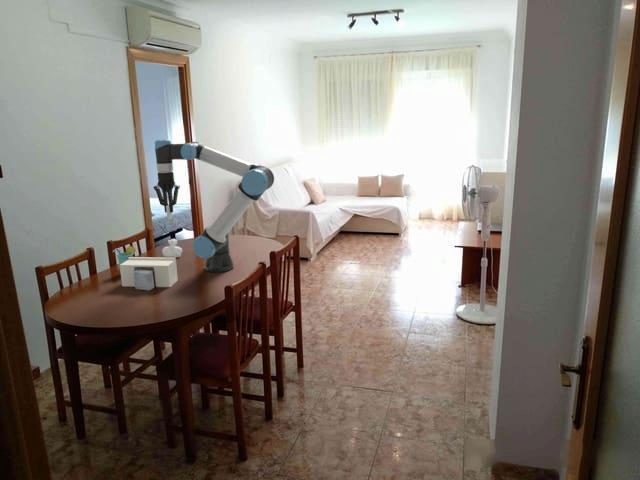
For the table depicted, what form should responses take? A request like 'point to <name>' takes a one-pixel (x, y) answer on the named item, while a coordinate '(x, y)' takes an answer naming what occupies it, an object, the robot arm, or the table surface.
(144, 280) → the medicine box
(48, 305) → the table surface
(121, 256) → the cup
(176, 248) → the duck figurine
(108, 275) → the table surface
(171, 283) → the console
